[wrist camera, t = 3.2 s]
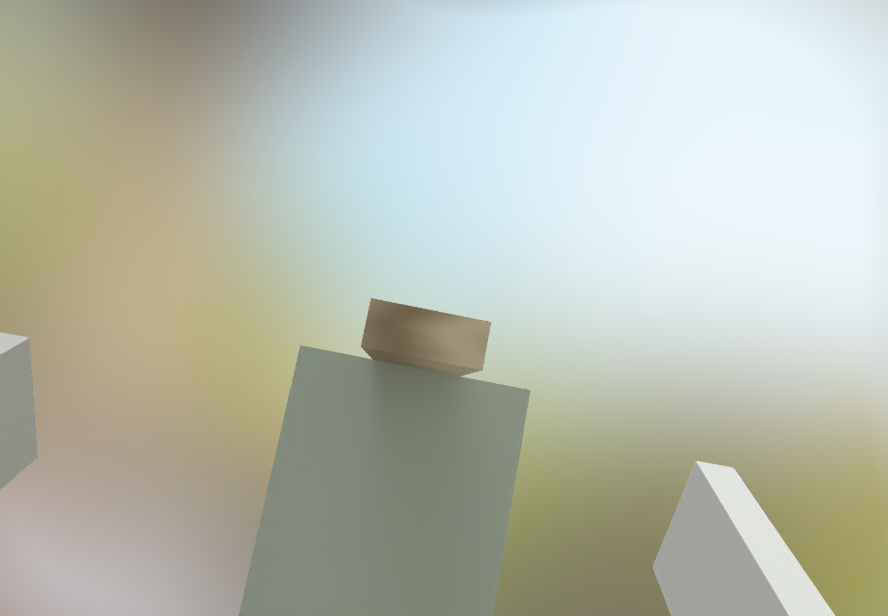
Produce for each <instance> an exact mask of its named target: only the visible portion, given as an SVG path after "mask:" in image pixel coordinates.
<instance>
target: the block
mask: <svg viewBox="0 0 888 616" xmlns="http://www.w3.org/2000/svg"><path fill="white" fill-rule="evenodd" d="M490 325H491V322H488V321H482V320H477V319H473V318H468V317H463V316H457V315H453V314H448V313H443V312H438V311H433V310H427V309H423V308H418V307H412V306H407V305H402V304H397V303H392V302H387V301H382V300H377V299H371V301H370V306H369V311H368V315H367V320H366V325H365V329H364V334H363V339H362V344H361V347H362V348H363V349H364V350H365V351H366V353H368V355H369V356H370V357H371V358H372V359H373V360H378V361H383V362H388V363H393V364H398V365H403V366H408V367H414V368H419V369H424V370H429V371H434V372H439V373H444V374H450V375H455V376H463V375H466V374H470V373H474V372H478V371H481V370H483V364H484V358H485V352H486V348H487V341H488V336H489V331H490Z"/></svg>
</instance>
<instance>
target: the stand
mask: <svg viewBox="0 0 888 616" xmlns="http://www.w3.org/2000/svg"><path fill="white" fill-rule="evenodd" d="M529 395H530V390H526V389H521V388H516V387H511V386H506V385H500V384H496V383H491V382H485V381H480V380H475V379H470V378H465V377H460V376H455V375H450V374H444V373H439V372H434V371H429V370H424V369H419V368H414V367H408V366H403V365H398V364H393V363H388V362H383V361H378V360H373V359H367V358H362V357H357V356H352V355H347V354H342V353H337V352H331V351H326V350H321V349H316V348H311V347H306V346H300V349H299V354H298V358H297V363H296V367H295V371H294V376H293V380H292V385H291V389H290V394H289V398H288V402H287V407H286V411H285V415H284V420H283V424H282V429H281V433H280V438H279V442H278V446H277V450H276V455H275V459H274V464H273V468H272V473H271V477H270V481H269V485H268V490H267V494H266V499H265V503H264V507H263V512H262V516H261V521H260V525H259V529H258V534H257V538H256V543H255V547H254V552H253V556H252V561H251V565H250V569H249V573H248V578H247V582H246V586H245V591H244V595H243V600H242V604H241V609H240V613H239V616H493V610H494V604H495V598H496V592H497V586H498V580H499V574H500V569H501V563H502V556H503V550H504V544H505V539H506V533H507V527H508V521H509V515H510V509H511V503H512V496H513V491H514V485H515V479H516V473H517V467H518V461H519V455H520V449H521V443H522V437H523V431H524V425H525V419H526V413H527V407H528V401H529Z"/></svg>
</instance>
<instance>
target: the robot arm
mask: <svg viewBox="0 0 888 616" xmlns="http://www.w3.org/2000/svg"><path fill="white" fill-rule="evenodd" d="M36 458H37V443H36V428H35V413H34V398H33V383H32V370H31V354H30V339H29V338H28V337H22V336H17V335H12V334H6V333H1V332H0V490H1V489H2V488H3V487H4V486H5V485H6V484H8V483H9V482H10V481H11V480H12V479H13V478H14V477H16V476H17V475H18V474H19V473H20V472H21V471H22V470H24V469H25V468H26V467H27V466H28V465H29V464H30V463H32V462H33V461H34V460H35V459H36ZM653 569H654V572H655V574H656V577H657V580H658V582H659V585H660V588H661V590H662V593H663V596H664V598H665V601H666V603H667V606H668V609H669V611H670V614H671V616H835V615H834V614H833V612H832V611H831V609H830V608H829V606H828V605H827V603H826V602H825V601H824V599H823V598H822V597H821V595H820V593H819V592H818V590H817V589H816V587H815V586H814V585H813V584H812V582H811V580H810V579H809V577H808V576H807V574H806V573H805V571H804V570H803V569H802V567H801V566H800V564H799V563H798V561H797V560H796V558H795V557H794V555H793V554H792V553H791V551H790V550H789V548H788V547H787V545H786V544H785V542H784V541H783V539H782V538H781V537H780V535H779V534H778V532H777V531H776V529H775V528H774V526H773V525H772V523H771V522H770V521H769V519H768V518H767V516H766V515H765V513H764V512H763V510H762V509H761V507H760V506H759V504H758V503H757V502H756V500H755V499H754V497H753V496H752V494H751V493H750V491H749V490H748V488H747V487H746V485H745V484H744V483H743V481H742V480H741V478H740V477H739V475H738V474H737V472H736V471H735V469H734V468H731V467H726V466H721V465H715V464H710V463H704V462H699V461H696V462H695V465H694V467H693V470H692V472H691V475H690V477H689V479H688V482H687V484H686V487H685V489H684V492H683V494H682V496H681V499H680V501H679V504H678V506H677V509H676V511H675V514H674V516H673V518H672V521H671V523H670V526H669V528H668V531H667V533H666V536H665V538H664V540H663V543H662V545H661V548H660V550H659V553H658V555H657V558H656V560H655V562H654V565H653Z"/></svg>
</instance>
